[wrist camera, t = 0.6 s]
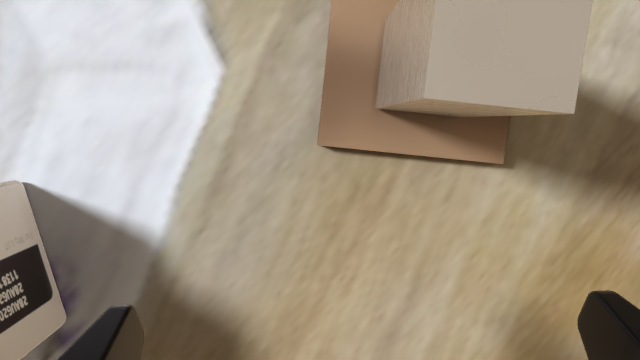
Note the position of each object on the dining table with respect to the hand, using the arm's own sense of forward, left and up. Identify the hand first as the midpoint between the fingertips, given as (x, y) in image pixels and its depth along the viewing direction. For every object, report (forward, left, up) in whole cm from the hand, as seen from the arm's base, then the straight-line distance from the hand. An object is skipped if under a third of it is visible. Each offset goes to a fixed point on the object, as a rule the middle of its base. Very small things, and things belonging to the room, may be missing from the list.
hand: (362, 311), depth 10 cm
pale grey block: (+9, -1, -14) cm, 16 cm away
